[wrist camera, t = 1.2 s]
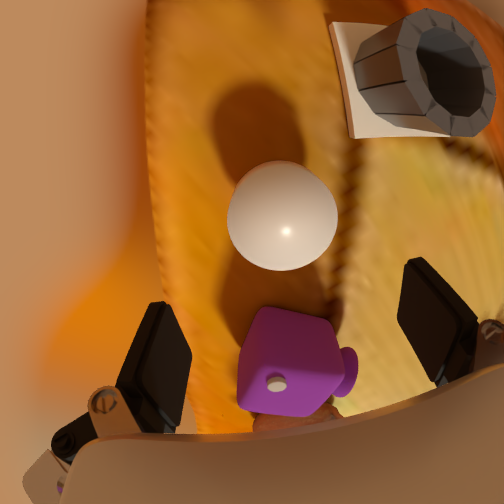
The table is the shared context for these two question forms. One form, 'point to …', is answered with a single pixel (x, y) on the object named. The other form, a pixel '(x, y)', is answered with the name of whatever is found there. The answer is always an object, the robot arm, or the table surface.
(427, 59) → the lens barrel
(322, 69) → the table surface
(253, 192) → the glossy white sphere
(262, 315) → the toy camera
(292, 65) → the table surface
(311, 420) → the ceramic jug
